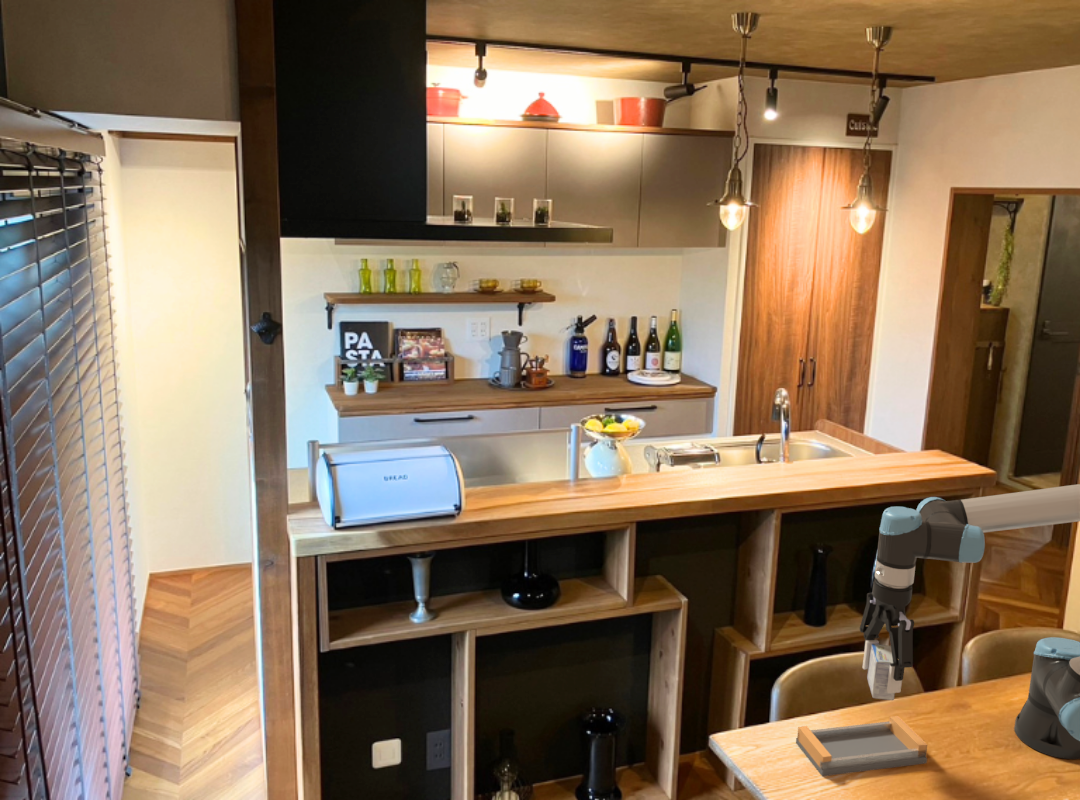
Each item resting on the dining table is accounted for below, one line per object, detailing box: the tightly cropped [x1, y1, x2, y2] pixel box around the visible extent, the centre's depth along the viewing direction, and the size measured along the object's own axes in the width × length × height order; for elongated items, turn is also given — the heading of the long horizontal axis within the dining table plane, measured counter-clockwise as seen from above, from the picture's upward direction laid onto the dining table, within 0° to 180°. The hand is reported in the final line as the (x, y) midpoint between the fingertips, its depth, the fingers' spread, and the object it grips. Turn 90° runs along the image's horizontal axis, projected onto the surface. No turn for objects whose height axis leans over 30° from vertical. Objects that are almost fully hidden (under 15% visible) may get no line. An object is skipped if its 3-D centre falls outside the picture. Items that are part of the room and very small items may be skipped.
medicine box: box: [866, 643, 896, 701], centre depth 188 cm, size 8×4×9 cm, turn 168°
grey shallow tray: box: [795, 715, 928, 777], centre depth 191 cm, size 24×12×4 cm, turn 101°
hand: (880, 679), depth 189 cm, fingers closed on medicine box, 9 cm apart
